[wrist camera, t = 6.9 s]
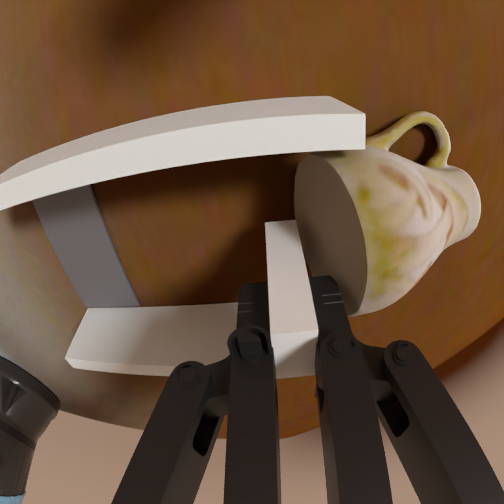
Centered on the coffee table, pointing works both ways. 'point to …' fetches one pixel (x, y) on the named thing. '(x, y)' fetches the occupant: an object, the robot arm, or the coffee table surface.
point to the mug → (381, 214)
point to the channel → (144, 160)
